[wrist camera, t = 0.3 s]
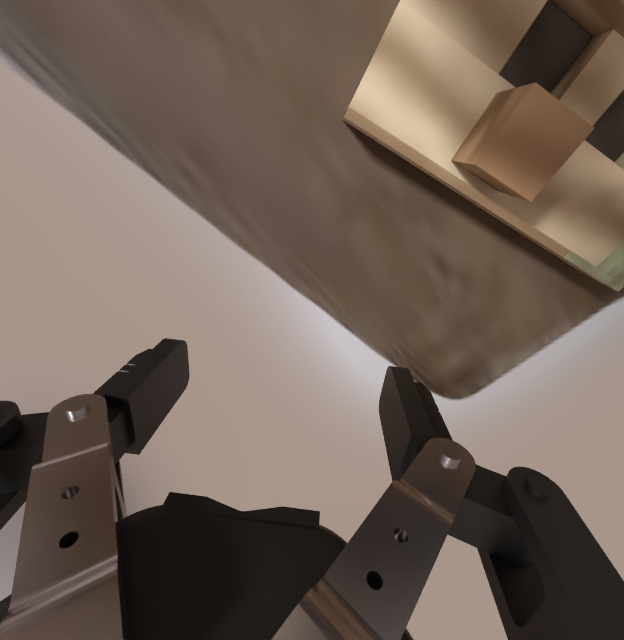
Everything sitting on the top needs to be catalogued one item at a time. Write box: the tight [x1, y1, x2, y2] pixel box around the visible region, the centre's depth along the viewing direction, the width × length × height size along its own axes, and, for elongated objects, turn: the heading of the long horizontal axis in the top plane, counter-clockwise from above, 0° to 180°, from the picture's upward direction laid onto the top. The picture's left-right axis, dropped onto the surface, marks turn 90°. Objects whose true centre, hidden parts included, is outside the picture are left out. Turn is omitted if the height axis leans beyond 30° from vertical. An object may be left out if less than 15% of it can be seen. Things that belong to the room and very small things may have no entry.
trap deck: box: [343, 0, 624, 292], centre depth 23 cm, size 13×28×5 cm, turn 62°
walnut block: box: [451, 82, 594, 202], centre depth 22 cm, size 5×5×5 cm
